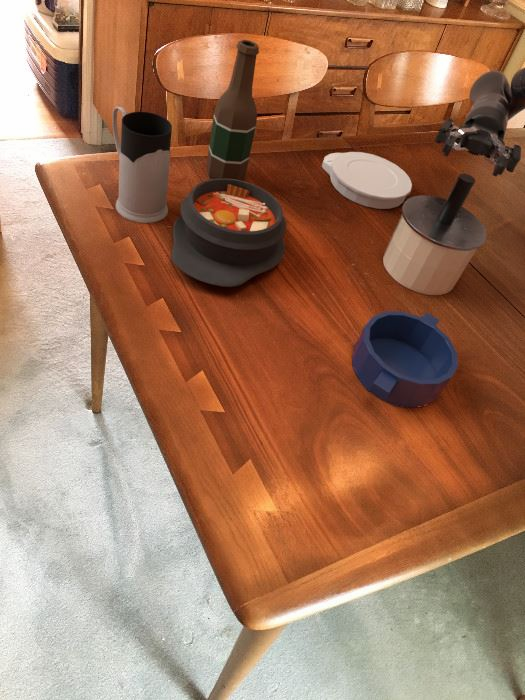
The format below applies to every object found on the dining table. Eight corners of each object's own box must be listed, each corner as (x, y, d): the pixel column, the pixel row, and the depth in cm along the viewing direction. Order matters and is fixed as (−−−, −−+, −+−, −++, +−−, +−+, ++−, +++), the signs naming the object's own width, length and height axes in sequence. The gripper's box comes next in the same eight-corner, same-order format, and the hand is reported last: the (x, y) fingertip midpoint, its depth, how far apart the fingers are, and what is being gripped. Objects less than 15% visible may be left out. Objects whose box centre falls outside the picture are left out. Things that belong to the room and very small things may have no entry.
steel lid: (499, 253, 91) (530, 206, 85) (424, 254, 86) (450, 204, 80) (456, 201, 100) (481, 155, 94) (386, 199, 95) (407, 150, 89)
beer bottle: (230, 161, 112) (254, 32, 94) (252, 182, 108) (281, 52, 91) (197, 166, 107) (216, 33, 90) (219, 188, 104) (243, 54, 87)
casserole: (206, 193, 102) (213, 151, 96) (300, 230, 100) (313, 189, 94) (141, 267, 85) (144, 221, 79) (253, 312, 83) (265, 269, 77)
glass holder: (132, 228, 91) (136, 142, 80) (90, 182, 97) (88, 96, 86) (177, 216, 95) (187, 133, 85) (134, 173, 101) (138, 91, 91)
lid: (351, 151, 126) (355, 138, 124) (421, 197, 118) (427, 184, 116) (301, 168, 116) (305, 155, 113) (375, 219, 108) (380, 206, 106)
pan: (458, 359, 86) (475, 336, 82) (413, 437, 73) (430, 413, 70) (382, 314, 89) (395, 289, 85) (326, 381, 77) (338, 356, 73)
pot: (465, 271, 103) (492, 226, 95) (439, 306, 94) (467, 260, 87) (400, 236, 106) (422, 190, 99) (370, 267, 97) (392, 219, 90)
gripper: (457, 92, 100) (442, 122, 89) (533, 121, 99) (527, 156, 87) (439, 131, 106) (422, 165, 95) (510, 160, 104) (502, 197, 93)
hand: (472, 160), depth 91 cm, fingers open, 8 cm apart
